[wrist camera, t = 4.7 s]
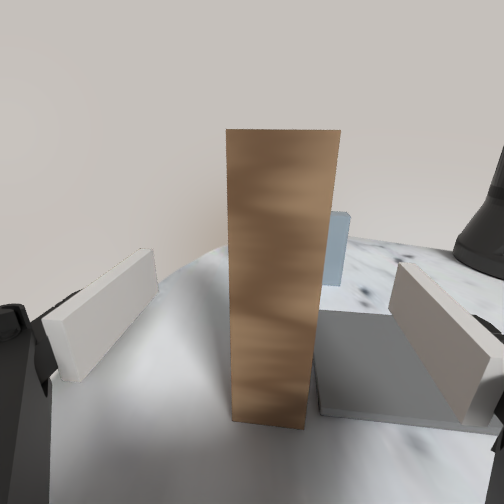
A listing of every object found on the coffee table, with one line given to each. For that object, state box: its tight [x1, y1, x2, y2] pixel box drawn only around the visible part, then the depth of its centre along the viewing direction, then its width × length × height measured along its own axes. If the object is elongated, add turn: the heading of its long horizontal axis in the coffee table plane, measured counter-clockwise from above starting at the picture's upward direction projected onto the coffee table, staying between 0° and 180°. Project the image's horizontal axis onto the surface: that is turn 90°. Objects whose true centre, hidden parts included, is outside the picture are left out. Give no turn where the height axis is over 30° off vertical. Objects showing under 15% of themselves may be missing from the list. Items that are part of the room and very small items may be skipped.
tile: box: [322, 211, 351, 286], centre depth 30 cm, size 10×2×8 cm, turn 83°
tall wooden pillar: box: [226, 129, 341, 430], centre depth 14 cm, size 4×4×15 cm
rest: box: [313, 310, 504, 436], centre depth 20 cm, size 10×10×1 cm
